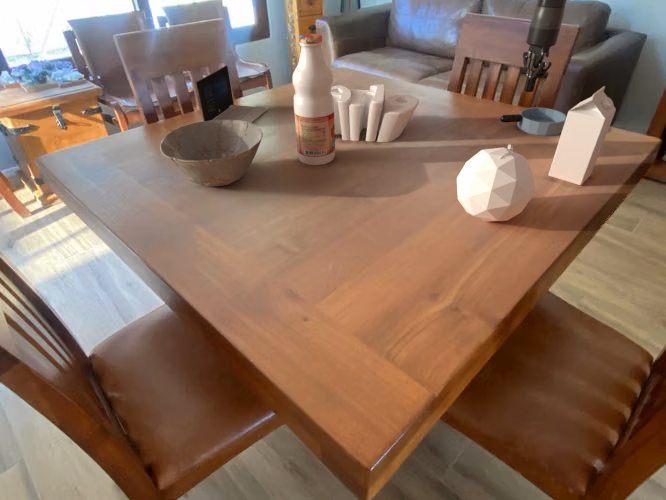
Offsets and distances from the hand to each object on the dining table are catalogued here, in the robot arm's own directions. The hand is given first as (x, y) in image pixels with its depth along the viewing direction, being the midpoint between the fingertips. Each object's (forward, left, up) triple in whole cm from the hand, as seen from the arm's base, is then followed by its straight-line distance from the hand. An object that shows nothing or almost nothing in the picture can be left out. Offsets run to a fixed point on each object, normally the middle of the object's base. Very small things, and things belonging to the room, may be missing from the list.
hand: (528, 91), depth 124 cm
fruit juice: (+63, +23, -7) cm, 67 cm away
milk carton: (+6, +39, -7) cm, 40 cm away
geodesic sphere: (+30, +53, -7) cm, 61 cm away
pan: (+3, +11, -7) cm, 13 cm away
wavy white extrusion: (+52, +6, -7) cm, 53 cm away
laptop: (+86, -7, -7) cm, 86 cm away
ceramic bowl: (+86, +31, -7) cm, 91 cm away
